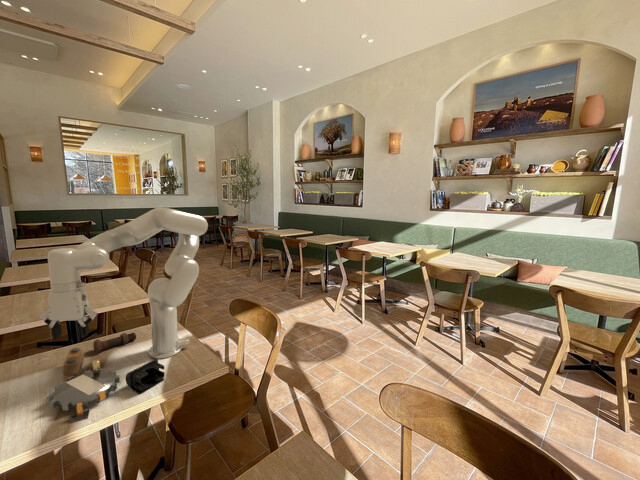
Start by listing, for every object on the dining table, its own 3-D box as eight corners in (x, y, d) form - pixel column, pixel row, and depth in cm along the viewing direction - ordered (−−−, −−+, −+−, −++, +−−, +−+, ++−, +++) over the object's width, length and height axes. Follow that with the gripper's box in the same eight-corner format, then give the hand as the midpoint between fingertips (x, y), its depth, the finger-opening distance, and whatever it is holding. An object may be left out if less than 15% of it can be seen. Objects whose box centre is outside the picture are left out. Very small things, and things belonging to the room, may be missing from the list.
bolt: (136, 344, 134) (96, 356, 122) (132, 335, 136) (92, 347, 124) (138, 335, 131) (98, 347, 120) (134, 327, 134) (94, 338, 122)
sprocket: (99, 368, 109) (98, 352, 108) (131, 383, 102) (130, 366, 101) (36, 397, 93) (34, 379, 92) (68, 418, 86) (66, 398, 85)
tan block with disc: (84, 361, 116) (83, 345, 115) (78, 378, 106) (77, 361, 105) (71, 363, 114) (69, 348, 113) (64, 381, 104) (62, 364, 103)
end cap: (153, 373, 111) (152, 356, 110) (165, 379, 107) (165, 362, 106) (125, 388, 102) (124, 370, 101) (138, 395, 99) (137, 377, 98)
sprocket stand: (99, 386, 102) (98, 376, 101) (92, 416, 89) (91, 404, 88) (76, 392, 99) (75, 381, 98) (66, 423, 86) (64, 411, 85)
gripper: (102, 282, 102) (105, 330, 105) (44, 283, 99) (49, 332, 102) (89, 289, 95) (93, 341, 98) (26, 290, 92) (32, 343, 94)
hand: (71, 336), depth 100 cm, fingers open, 7 cm apart
